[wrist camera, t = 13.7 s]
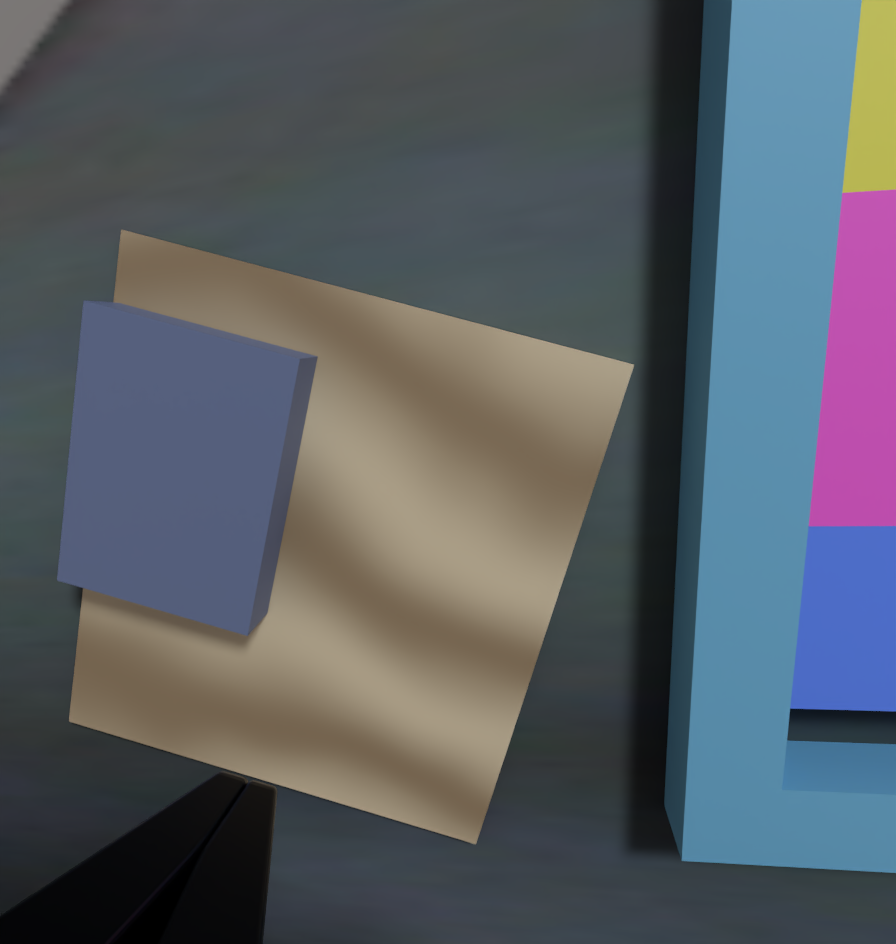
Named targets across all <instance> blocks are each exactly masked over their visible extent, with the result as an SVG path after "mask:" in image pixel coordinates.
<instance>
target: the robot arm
mask: <svg viewBox="0 0 896 944" xmlns="http://www.w3.org/2000/svg"><path fill="white" fill-rule="evenodd" d="M276 800H277V789H276V787H274V786H272V785H268V784H265V783H262V782H258V781H255V780H252V781H250V782H248V780H247V779H246V778H245V777H242V776H239V775H235V774H232V773H229V772H225V771H222V772H218V773H216V774H215V775H213V776H212V777H210V778H209V779H207V780H206V781H204V782H203V783H201V784H200V785H198V786H197V787H195V788H194V789H192V790H191V791H189V792H187V793H186V794H184V795H183V796H181V797H180V798H178V799H177V800H175V801H174V802H172V803H171V804H169V805H168V806H166V807H165V808H163V809H162V810H160V811H159V812H157V813H156V814H154V815H153V816H151V817H150V818H148V819H146V820H145V821H143V822H142V823H140V824H139V825H137V826H136V827H134V828H133V829H131V830H130V831H128V832H127V833H125V834H124V835H122V836H121V837H119V838H118V839H116V840H115V841H113V842H112V843H110V844H109V845H107V846H106V847H104V848H102V849H101V850H99V851H98V852H96V853H95V854H93V855H92V856H90V857H89V858H87V859H86V860H84V861H83V862H81V863H80V864H78V865H77V866H75V867H74V868H72V869H71V870H69V871H68V872H66V873H65V874H63V875H61V876H60V877H58V878H57V879H55V880H54V881H52V882H51V883H49V884H48V885H46V886H45V887H43V888H42V889H40V890H39V891H37V892H36V893H34V894H33V895H31V896H30V897H28V898H27V899H25V900H24V901H22V902H20V903H19V904H17V905H16V906H14V907H13V908H11V909H10V910H8V911H7V912H5V913H4V914H2V915H1V916H0V944H263V935H264V924H265V914H266V904H267V893H268V883H269V873H270V862H271V852H272V842H273V831H274V821H275V811H276Z"/></svg>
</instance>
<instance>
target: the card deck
mask: <svg viewBox="0 0 896 944" xmlns="http://www.w3.org/2000/svg"><path fill="white" fill-rule="evenodd" d="M317 358H318V356H314V355H311V354H307V353H303V352H300V351H296V350H292V349H288V348H285V347H281V346H277V345H274V344H270V343H266V342H262V341H259V340H255V339H251V338H248V337H244V336H240V335H237V334H233V333H229V332H225V331H222V330H218V329H214V328H211V327H207V326H203V325H199V324H196V323H192V322H188V321H185V320H181V319H177V318H173V317H170V316H166V315H162V314H159V313H155V312H151V311H148V310H144V309H140V308H136V307H133V306H129V305H125V304H122V303H114V302H99V301H84V302H83V312H82V323H81V333H80V344H79V354H78V365H77V376H76V386H75V397H74V407H73V418H72V429H71V439H70V450H69V460H68V471H67V482H66V492H65V503H64V513H63V524H62V534H61V545H60V556H59V566H58V577H57V581H61V582H64V583H68V584H71V585H75V586H78V587H81V588H85V589H88V590H92V591H95V592H99V593H102V594H105V595H109V596H112V597H116V598H119V599H123V600H126V601H129V602H133V603H136V604H140V605H143V606H147V607H150V608H153V609H157V610H160V611H164V612H167V613H171V614H174V615H177V616H181V617H184V618H188V619H191V620H194V621H198V622H201V623H205V624H208V625H212V626H215V627H218V628H222V629H225V630H229V631H232V632H236V633H239V634H242V635H246V636H248V635H249V634H250V633H251V631H252V630H253V629H254V628H255V627H256V626H257V625H258V623H259V622H260V621H261V620H262V619H263V618H264V616H265V615H266V614H267V613H268V608H269V603H270V598H271V592H272V587H273V582H274V577H275V572H276V567H277V562H278V557H279V552H280V547H281V541H282V536H283V531H284V526H285V521H286V516H287V511H288V506H289V501H290V495H291V490H292V485H293V480H294V475H295V470H296V465H297V460H298V455H299V450H300V444H301V439H302V434H303V429H304V424H305V419H306V414H307V409H308V404H309V398H310V393H311V388H312V383H313V378H314V373H315V368H316V363H317Z"/></svg>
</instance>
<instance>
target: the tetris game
mask: <svg viewBox="0 0 896 944" xmlns="http://www.w3.org/2000/svg"><path fill="white" fill-rule="evenodd" d="M790 708H791V709H826V710H862V711H896V0H704V10H703V31H702V51H701V71H700V91H699V111H698V132H697V152H696V172H695V192H694V212H693V233H692V253H691V273H690V293H689V313H688V334H687V354H686V374H685V394H684V414H683V435H682V455H681V475H680V495H679V515H678V536H677V556H676V576H675V596H674V617H673V637H672V657H671V677H670V697H669V718H668V738H667V758H666V778H665V798H664V806H665V810H666V813H667V816H668V819H669V822H670V825H671V829H672V832H673V835H674V838H675V841H676V844H677V848H678V851H679V854H680V857H681V860H682V861H693V862H711V863H729V864H747V865H764V866H782V867H800V868H818V869H835V870H853V871H871V872H889V873H896V744H867V743H838V742H808V741H787V734H788V725H789V715H790Z"/></svg>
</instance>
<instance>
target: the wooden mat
mask: <svg viewBox="0 0 896 944" xmlns="http://www.w3.org/2000/svg"><path fill="white" fill-rule="evenodd" d="M114 303H122V304H125V305H129V306H133V307H136V308H140V309H144V310H148V311H151V312H155V313H159V314H162V315H166V316H170V317H173V318H177V319H181V320H185V321H188V322H192V323H196V324H199V325H203V326H207V327H211V328H214V329H218V330H222V331H225V332H229V333H233V334H237V335H240V336H244V337H248V338H251V339H255V340H259V341H262V342H266V343H270V344H274V345H277V346H281V347H285V348H288V349H292V350H296V351H300V352H303V353H307V354H311V355H314V356H318V358H317V363H316V368H315V373H314V378H313V383H312V388H311V393H310V398H309V404H308V409H307V414H306V419H305V424H304V429H303V434H302V439H301V444H300V450H299V455H298V460H297V465H296V470H295V475H294V480H293V485H292V490H291V495H290V501H289V506H288V511H287V516H286V521H285V526H284V531H283V536H282V541H281V547H280V552H279V557H278V562H277V567H276V572H275V577H274V582H273V587H272V592H271V598H270V603H269V608H268V613H267V614H266V615H265V616H264V618H263V619H262V620H261V621H260V622H259V623H258V625H257V626H256V627H255V628H254V629H253V630H252V631H251V633H250V634H249V635H248V636H246V635H242V634H239V633H236V632H232V631H229V630H225V629H222V628H218V627H215V626H212V625H208V624H205V623H201V622H198V621H194V620H191V619H188V618H184V617H181V616H177V615H174V614H171V613H167V612H164V611H160V610H157V609H153V608H150V607H147V606H143V605H140V604H136V603H133V602H129V601H126V600H123V599H119V598H116V597H112V596H109V595H105V594H102V593H99V592H95V591H92V590H88V589H85V588H83V594H82V603H81V612H80V622H79V631H78V641H77V650H76V659H75V669H74V678H73V688H72V697H71V706H70V716H69V722H72V723H75V724H79V725H82V726H85V727H89V728H92V729H95V730H99V731H102V732H105V733H109V734H112V735H115V736H119V737H122V738H125V739H128V740H132V741H135V742H138V743H142V744H145V745H148V746H152V747H155V748H158V749H162V750H165V751H168V752H172V753H175V754H178V755H182V756H185V757H188V758H191V759H195V760H198V761H201V762H205V763H208V764H211V765H215V766H218V767H221V768H225V769H228V770H231V771H235V772H238V773H241V774H244V775H248V776H251V777H254V778H258V779H261V780H264V781H268V782H271V783H274V784H278V785H281V786H284V787H288V788H291V789H294V790H297V791H301V792H304V793H307V794H311V795H314V796H317V797H321V798H324V799H327V800H331V801H334V802H337V803H341V804H344V805H347V806H351V807H354V808H357V809H360V810H364V811H367V812H370V813H374V814H377V815H380V816H384V817H387V818H390V819H394V820H397V821H400V822H404V823H407V824H410V825H413V826H417V827H420V828H423V829H427V830H430V831H433V832H437V833H440V834H443V835H447V836H450V837H453V838H457V839H460V840H463V841H466V842H470V843H473V844H476V842H477V839H478V836H479V833H480V830H481V827H482V824H483V821H484V818H485V815H486V812H487V809H488V806H489V803H490V800H491V797H492V794H493V791H494V788H495V785H496V782H497V779H498V776H499V773H500V770H501V767H502V764H503V760H504V757H505V754H506V751H507V748H508V745H509V742H510V739H511V736H512V733H513V730H514V727H515V724H516V721H517V718H518V715H519V712H520V709H521V706H522V703H523V700H524V697H525V694H526V691H527V688H528V685H529V682H530V679H531V676H532V673H533V670H534V667H535V664H536V661H537V658H538V655H539V652H540V649H541V646H542V643H543V639H544V636H545V633H546V630H547V627H548V624H549V621H550V618H551V615H552V612H553V609H554V606H555V603H556V600H557V597H558V594H559V591H560V588H561V585H562V582H563V579H564V576H565V573H566V570H567V567H568V564H569V561H570V558H571V555H572V552H573V549H574V546H575V543H576V540H577V537H578V534H579V531H580V528H581V525H582V522H583V518H584V515H585V512H586V509H587V506H588V503H589V500H590V497H591V494H592V491H593V488H594V485H595V482H596V479H597V476H598V473H599V470H600V467H601V464H602V461H603V458H604V455H605V452H606V449H607V446H608V443H609V440H610V437H611V434H612V431H613V428H614V425H615V422H616V419H617V416H618V413H619V410H620V407H621V404H622V401H623V397H624V394H625V391H626V388H627V385H628V382H629V379H630V376H631V373H632V370H633V367H634V365H633V364H629V363H626V362H622V361H618V360H614V359H610V358H607V357H603V356H599V355H595V354H592V353H588V352H584V351H580V350H576V349H573V348H569V347H565V346H561V345H557V344H554V343H550V342H546V341H542V340H538V339H535V338H531V337H527V336H523V335H519V334H516V333H512V332H508V331H504V330H501V329H497V328H493V327H489V326H485V325H482V324H478V323H474V322H470V321H466V320H463V319H459V318H455V317H451V316H447V315H444V314H440V313H436V312H432V311H428V310H425V309H421V308H417V307H413V306H409V305H406V304H402V303H398V302H394V301H391V300H387V299H383V298H379V297H375V296H372V295H368V294H364V293H360V292H356V291H353V290H349V289H345V288H341V287H337V286H334V285H330V284H326V283H322V282H318V281H315V280H311V279H307V278H303V277H300V276H296V275H292V274H288V273H284V272H281V271H277V270H273V269H269V268H265V267H262V266H258V265H254V264H250V263H246V262H243V261H239V260H235V259H231V258H227V257H224V256H220V255H216V254H212V253H208V252H205V251H201V250H197V249H193V248H190V247H186V246H182V245H178V244H174V243H171V242H167V241H163V240H159V239H155V238H152V237H148V236H144V235H140V234H136V233H133V232H129V231H125V230H121V237H120V246H119V255H118V265H117V274H116V284H115V293H114Z"/></svg>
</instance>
